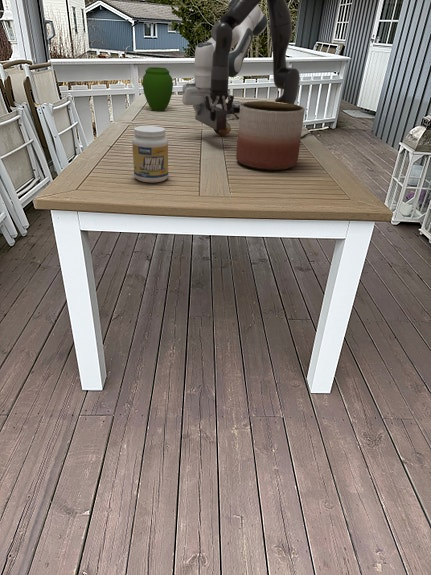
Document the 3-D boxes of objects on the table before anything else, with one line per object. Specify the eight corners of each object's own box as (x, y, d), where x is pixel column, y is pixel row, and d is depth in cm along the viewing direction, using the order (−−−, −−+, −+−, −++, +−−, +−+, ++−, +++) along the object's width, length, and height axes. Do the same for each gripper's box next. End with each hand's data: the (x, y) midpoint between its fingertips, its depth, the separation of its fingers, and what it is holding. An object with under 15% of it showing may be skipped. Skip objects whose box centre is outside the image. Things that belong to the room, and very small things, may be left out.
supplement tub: (139, 184, 140) (136, 133, 131) (130, 174, 149) (127, 125, 140) (173, 181, 144) (172, 131, 135) (162, 172, 153) (161, 124, 144)
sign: (225, 107, 272) (224, 100, 297) (225, 111, 274) (224, 105, 299) (253, 108, 272) (250, 101, 298) (253, 113, 274) (250, 106, 299)
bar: (195, 119, 201) (195, 101, 197) (204, 119, 203) (204, 101, 198) (216, 130, 181) (217, 110, 177) (225, 129, 183) (226, 110, 179)
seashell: (229, 134, 215) (230, 118, 210) (231, 136, 210) (232, 120, 206) (212, 134, 213) (212, 117, 209) (213, 136, 209) (214, 119, 204)
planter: (305, 172, 161) (315, 112, 150) (243, 172, 157) (248, 110, 146) (285, 155, 183) (293, 101, 171) (230, 155, 178) (233, 100, 167)
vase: (143, 107, 275) (142, 66, 262) (173, 108, 277) (172, 67, 264) (142, 112, 259) (140, 68, 246) (173, 113, 261) (173, 70, 248)
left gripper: (185, 83, 184) (184, 116, 191) (226, 83, 191) (224, 115, 199) (180, 82, 189) (180, 114, 196) (220, 82, 196) (219, 113, 203)
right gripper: (207, 79, 169) (206, 122, 178) (238, 79, 174) (235, 121, 183) (200, 77, 174) (200, 119, 184) (231, 77, 180) (228, 118, 189)
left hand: (202, 114), depth 197 cm, fingers closed on bar, 5 cm apart
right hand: (217, 120), depth 183 cm, fingers closed on bar, 4 cm apart
